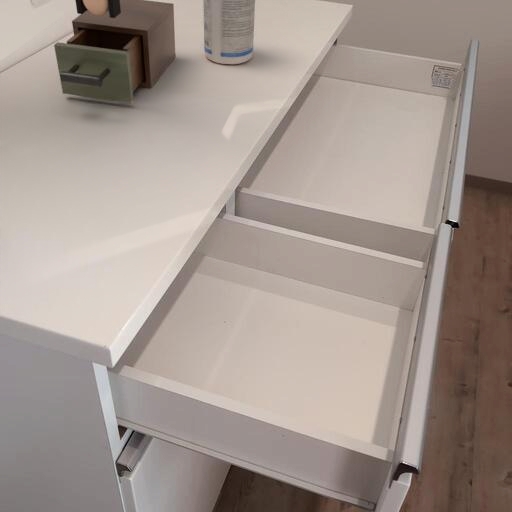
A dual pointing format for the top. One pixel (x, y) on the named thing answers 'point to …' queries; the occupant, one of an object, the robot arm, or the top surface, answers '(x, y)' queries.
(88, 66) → the drawer
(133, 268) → the top surface
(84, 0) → the egg
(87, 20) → the cabinet
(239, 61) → the supplement tub
